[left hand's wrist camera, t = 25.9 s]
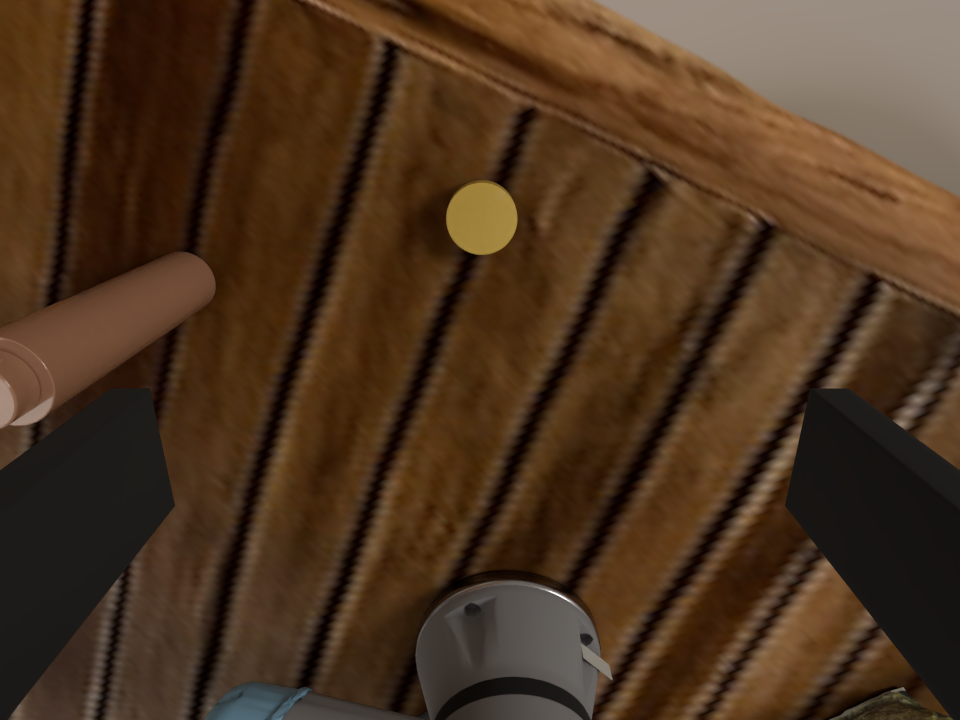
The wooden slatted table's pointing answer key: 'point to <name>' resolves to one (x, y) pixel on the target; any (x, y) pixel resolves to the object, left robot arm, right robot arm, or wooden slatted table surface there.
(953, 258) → the wooden slatted table surface
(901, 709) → the fossil
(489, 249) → the lid
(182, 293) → the brown long cylinder
